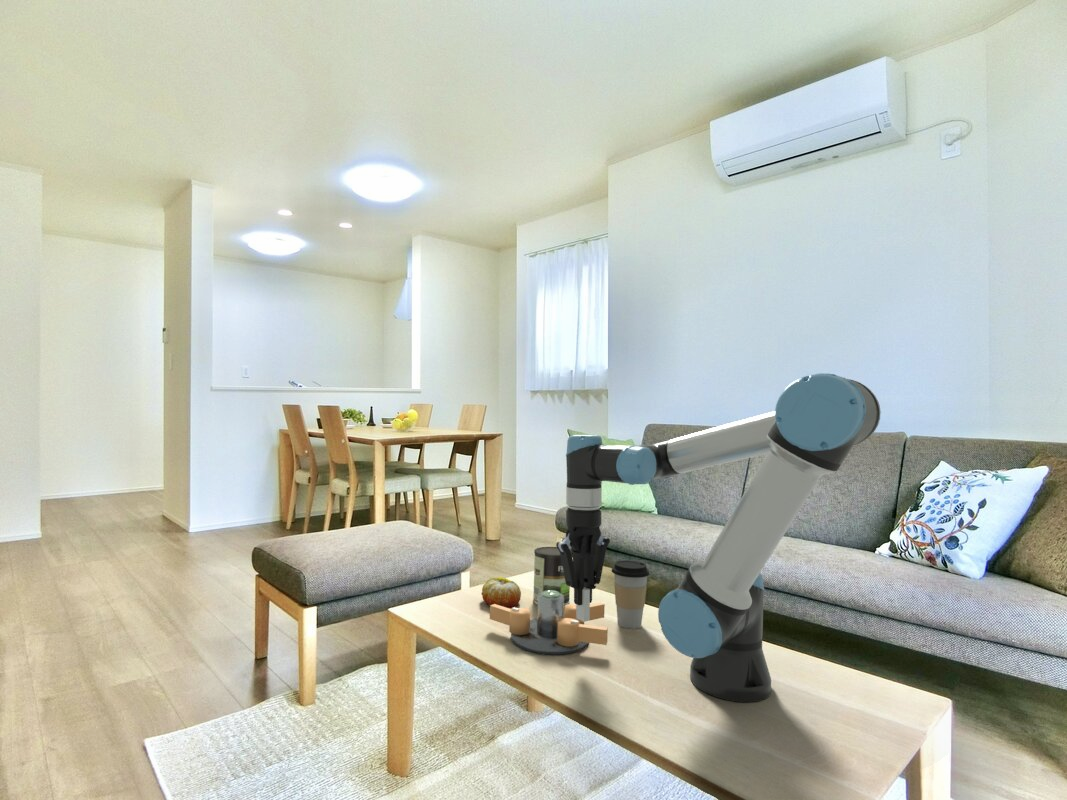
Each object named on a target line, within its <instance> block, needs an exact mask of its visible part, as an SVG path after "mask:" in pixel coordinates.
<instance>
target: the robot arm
mask: <svg viewBox="0 0 1067 800" xmlns="http://www.w3.org/2000/svg"><path fill="white" fill-rule="evenodd" d="M881 413H882V411H881V407H880V402H879V401H878V398H877V397H876V395H875V393H874V392H873V391H872V390H871V389H870V388H868V387H867V385H865V384H864V383H861V382H859V381H856V380H853V379H849V378H845V377H842V376H840V375H836V374H834V373H814V374H809V375H806V376H803V377H799V378H798V379H796V380H794V381H792V382H791V383H790V384H788V386H786V387H785V388H784V390H783V391H782V392H781V393H780V395H779V397H778V398H777V401H776V404H775V409H774V411H769V412H765V413H762V414H759V415H755V416H753V417H748V418H746V419H742V420H741V419H740V420H737V421H733V422H730V423H726V424H723V425H718V426H716V427H711V428H708V429H704V430H702V431H698V432H694V433H690V434H687V435H684V436H680V437H675V438H673V439H669V440H665V441H662V442H661V441H660V442H657V443H653V444H639V445H607V444H603V439H602V437H601V435H595V434H572V435H570V436H569V437H568V438H567V442H566V444H567V445H566V454H565V457H566V459H565V460H566V500H565V501H566V502H565V503H566V505H567V508H566V509H565V524H566V526H567V530H566V533H565V538H564V539H563V540H562V541H557V542H556V545H555V547H557V548H558V550H559V552H560V555H561V560H562V566H563V571H564V576H565V581H566V585H567V586H570V588H573V604H576V618H577V619H579V620H581V621H583V622H584V623H585V621H586V622H590V621H591V620H590V604H592V602H593V590H595V589H596V587H597V585H599V584H600V583H601V578H602V573H603V568H604V562H605V557H606V552H607V548H608V546H609V544H610V541H611V540H610V538H608V537H605V536H604V535H603V534H602V532H601V528H600V527H601V525H602V509H601V508H600V507H602V502H603V501H602V499H603V498H602V491H603V490H602V489H603V488H602V483H603V482H611V483H620V484H628V485H631V486H633V485H648V484H649V483H651V480H657V479H658V480H664V479H668V478H671V477H674V476H677V475H681V474H685V473H688V472H693V471H697V470H698V471H699V470H702V469H707V468H711V467H712V468H713V467H716V466H720V465H725V464H728V463H729V464H730V463H732V462H738V461H742V460H746V459H751V458H756V457H760V456H764V455H765V457H764V459H763V461H762V462H761V464H760V466H759V467H758V470H756V472H755V474H754V476H753V478H752V479H751V481H750V482H749V484H748V486H747V488H746V490H745V491H744V493H743V495H742V496H741V497H740V499H739V501H738V503H737V505H736V506H735V508H734V510H733V512H732V513H731V515H730V516H729V518H728V520H727V522H726V523H725V525H724V526H723V528H722V530H721V531H720V533H719V535H718V537H717V538H716V540H715V542H714V543H713V545H712V547H711V549H710V550H709V551H708V554H707V555H706V557H705V559H704V560H702V561H694V562H693V563H692V564H691V565H690V566H689V568H688V569H687V571H686V574H685V575H684V576H683V578H682V580H681V582H680V583H679V585H678V587H676V588H675V589H672V590H671V591H669V592H668V593H666V595H665V596H664V597H663V598H661V601H660V603H659V607H658V611H657V613H658V614H657V615H658V616H657V617H658V623H659V624H660V628H661V629H660V630H661V632H662V634H663V636H664V638H665V639H666V641H667V642H668V643H669V644H670V646H671V647H672V648H674V649H675V651H677V652H678V653H680V654H681V655H684V656H685V657H688V658H692V660H691V663H690V668H689V669H690V670H689V672H690V674H689V678H690V681H691V682H692V684H693V685H694V686H695V687H696V688H698V689H699V690H701V691H702V692H704V693H705V694H708V695H709V696H712V697H716V698H718V699H723V700H727V701H730V702H731V701H732V702H740V703H755V702H760V701H763V700H765V699H767V698H768V697H770V695H771V693H772V677H771V673H770V671H769V667H768V664H767V663H768V662H767V659H766V657H765V654H764V650H763V629H764V627H763V626H764V623H763V622H764V593H765V587H764V577H763V574H762V573H761V572H762V570H763V569H764V567H765V566H766V564H767V562H768V561H769V559H770V558H771V556H772V554H773V553H774V552H775V549H777V547H778V545H779V543H780V542H781V540H782V539H783V537H784V536H785V534H786V533H787V531H788V529H789V528H790V526H791V524H792V522H793V521H794V519H795V518H796V517H797V515H798V513H799V512H800V510H801V509H802V507H803V505H804V504H805V502H806V501H807V499H808V498H809V496H810V494H811V492H813V490H814V489H815V487H816V485H817V483H818V482H819V480H820V479H821V477H822V476H826V475H831V474H835V473H837V472H838V470H839V469H840V467H841V466H842V464H843V463H844V462H845V459H846V458H847V456H848V455H849V453H850V452H851V450H852V449H853V447H854V446H856V445H858V444H861V443H863V442H865V441H867V440H868V439H869V438H870V437H872V435H873V434H874V433H875V432H876V430H877V429H878V426H879V424H880V420H881Z"/></svg>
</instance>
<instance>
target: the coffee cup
mask: <svg viewBox="0 0 1067 800" xmlns="http://www.w3.org/2000/svg"><path fill="white" fill-rule="evenodd" d="M647 567H648V566H647V564H646V563H644V562H642V561H638V560H630V559H624V560H617V561H615V562H614V565H613V566H612V567H611V573H612V574H613V575H614V582H613V584H614V597H615V598H614V599H615V605H616V615H617V616H616V620H617V624H618V626H620V627H622V628H624V629H638V628H641V626H642V623H643V615H644V608H645V603H646V596H647V587H648V585H647V581H648V576H650V569H649V568H647Z"/></svg>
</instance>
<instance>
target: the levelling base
mask: <svg viewBox="0 0 1067 800" xmlns="http://www.w3.org/2000/svg"><path fill="white" fill-rule="evenodd" d="M564 610H565V606H564V595H563V594H561V593H559V592H557V591H553V590H547V591H543V592H541V593H539V594H538V605H537V615H536V616H537V617H536V618H532V619H531V618H530V632H529V633H528V634H524V635H516V634H512V633H510V641H511V643H512V644H513V645H514V646H515V647H516V648H518V649H519V650H521V651H524V652H527V653H530V654H535V655H540V656H549V657H550V656H553V657H554V656H557V657H559V656H569V655H573V654H575V653H577V654H578V652H581V651H583V650H585V649H586V648H587V647H588V645H589V643H587V642H580V641H579V644H578V645H576V646H570V647H569V646H562V645H560V644H558V643H557V628H558V620H559V619H562V618H564Z"/></svg>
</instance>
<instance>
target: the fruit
mask: <svg viewBox="0 0 1067 800" xmlns="http://www.w3.org/2000/svg"><path fill="white" fill-rule="evenodd" d="M481 597H482V600H483V602H484V603H485V604H486V605H488V606H489V607H490V605H493V604H496V605H500V606H503V607H506V608H509V609H512V608H513V607H515V608H517V606H519V603H520V601H521V597H522V590H521V588H520V586H519V585H518V584H517V582H515V581H513V580H510V579H508V578H506V577H502V576H501V577H500V576H498V577H494V578H490V579H489V580H487V581H486V582H485V583H483V586H482V589H481Z"/></svg>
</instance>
